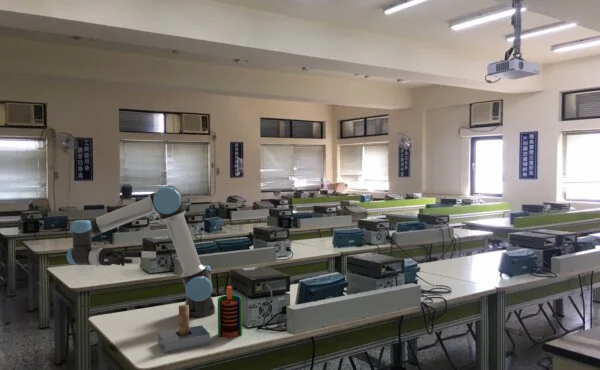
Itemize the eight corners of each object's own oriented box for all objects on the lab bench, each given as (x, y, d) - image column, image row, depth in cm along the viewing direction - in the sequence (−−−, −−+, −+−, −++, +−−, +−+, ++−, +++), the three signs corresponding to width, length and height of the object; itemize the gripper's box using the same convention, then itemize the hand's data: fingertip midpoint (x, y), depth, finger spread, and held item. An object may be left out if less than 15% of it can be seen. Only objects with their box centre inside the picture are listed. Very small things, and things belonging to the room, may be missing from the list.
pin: (187, 340, 198) (187, 304, 197) (190, 343, 194) (190, 306, 194) (177, 342, 196) (177, 305, 196) (180, 345, 192) (180, 308, 192)
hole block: (201, 335, 205) (201, 325, 204) (210, 345, 194) (210, 334, 194) (158, 343, 196) (158, 332, 196) (164, 353, 186) (164, 342, 186)
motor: (220, 339, 200) (219, 291, 199) (215, 332, 208) (214, 286, 208) (244, 336, 204) (243, 289, 203) (238, 329, 212) (238, 284, 211)
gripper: (118, 259, 223) (161, 260, 219) (85, 271, 198) (133, 273, 194) (118, 243, 222) (161, 244, 218) (84, 253, 198) (132, 254, 194)
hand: (148, 257), depth 206 cm, fingers open, 13 cm apart
